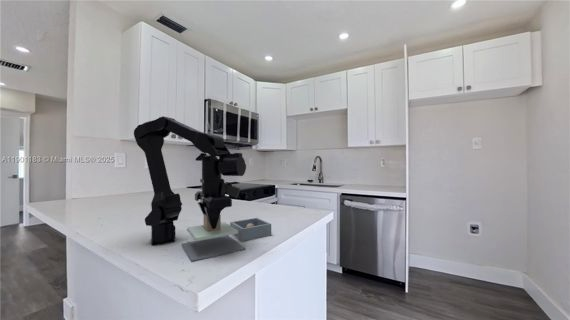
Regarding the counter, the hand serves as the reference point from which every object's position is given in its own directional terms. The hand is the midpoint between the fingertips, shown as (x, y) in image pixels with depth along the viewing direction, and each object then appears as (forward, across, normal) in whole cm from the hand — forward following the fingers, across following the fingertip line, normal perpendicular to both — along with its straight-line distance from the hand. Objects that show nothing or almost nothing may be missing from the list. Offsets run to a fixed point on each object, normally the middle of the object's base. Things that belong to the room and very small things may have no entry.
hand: (211, 226), depth 70 cm
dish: (+6, +5, -15) cm, 17 cm away
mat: (+6, 0, 0) cm, 6 cm away
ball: (+4, +5, -15) cm, 16 cm away
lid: (+2, 0, 0) cm, 2 cm away
